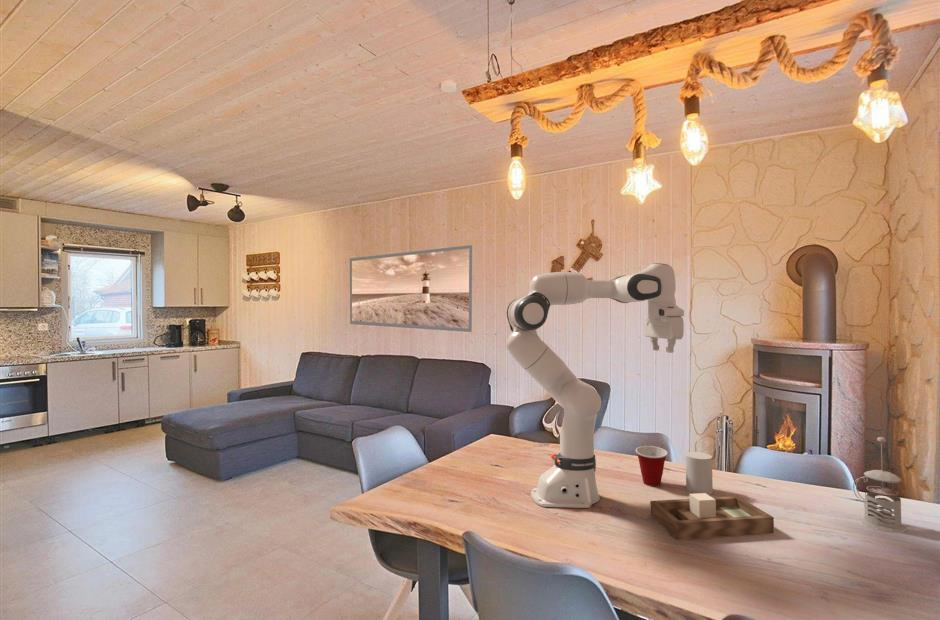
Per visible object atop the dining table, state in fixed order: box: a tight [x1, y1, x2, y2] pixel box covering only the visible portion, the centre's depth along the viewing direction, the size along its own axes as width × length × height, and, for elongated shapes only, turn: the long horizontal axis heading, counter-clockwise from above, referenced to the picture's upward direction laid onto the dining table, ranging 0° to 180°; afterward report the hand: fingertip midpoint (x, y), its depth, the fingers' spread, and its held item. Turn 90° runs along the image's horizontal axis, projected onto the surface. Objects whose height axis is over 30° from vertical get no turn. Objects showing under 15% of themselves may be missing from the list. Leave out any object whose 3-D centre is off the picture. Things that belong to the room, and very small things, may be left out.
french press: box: [852, 436, 907, 533], centre depth 134 cm, size 10×12×25 cm
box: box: [649, 495, 775, 541], centre depth 135 cm, size 28×15×4 cm, turn 95°
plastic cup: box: [635, 445, 669, 487], centre depth 167 cm, size 11×11×12 cm
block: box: [689, 493, 716, 518], centre depth 137 cm, size 5×5×5 cm
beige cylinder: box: [685, 451, 714, 495], centre depth 160 cm, size 8×8×12 cm
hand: (662, 351), depth 159 cm, fingers open, 8 cm apart
